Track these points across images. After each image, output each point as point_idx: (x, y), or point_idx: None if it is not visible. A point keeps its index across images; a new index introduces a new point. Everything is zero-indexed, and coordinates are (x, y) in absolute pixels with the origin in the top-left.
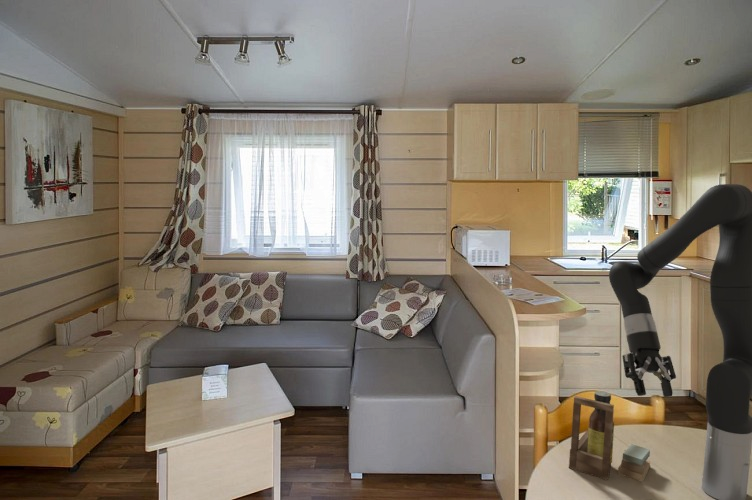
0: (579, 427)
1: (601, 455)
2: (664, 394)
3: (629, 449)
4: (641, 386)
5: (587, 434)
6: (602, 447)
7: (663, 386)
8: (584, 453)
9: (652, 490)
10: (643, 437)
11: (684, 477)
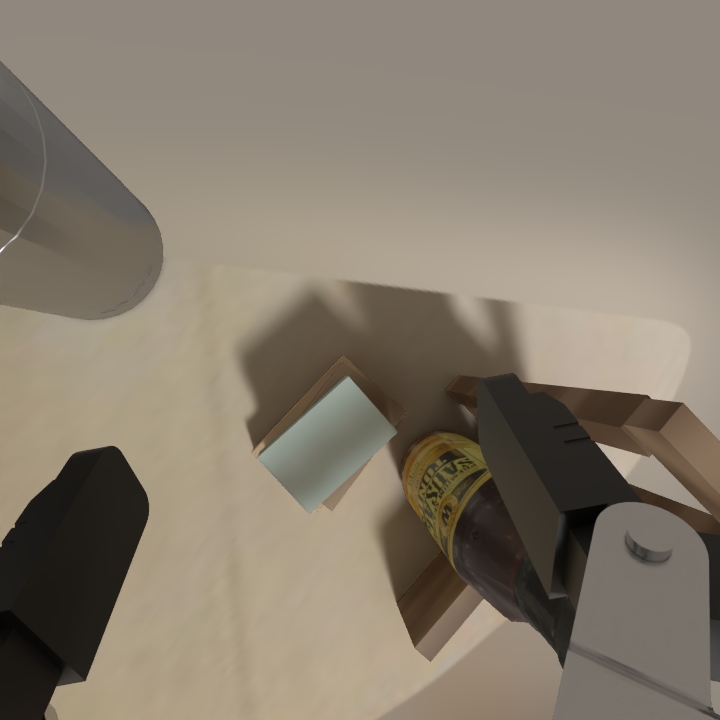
0: None
1: (475, 443)
2: (136, 517)
3: (349, 464)
4: (550, 442)
5: (454, 614)
6: None
7: (95, 595)
8: None
9: (343, 298)
10: (121, 694)
11: (167, 365)
